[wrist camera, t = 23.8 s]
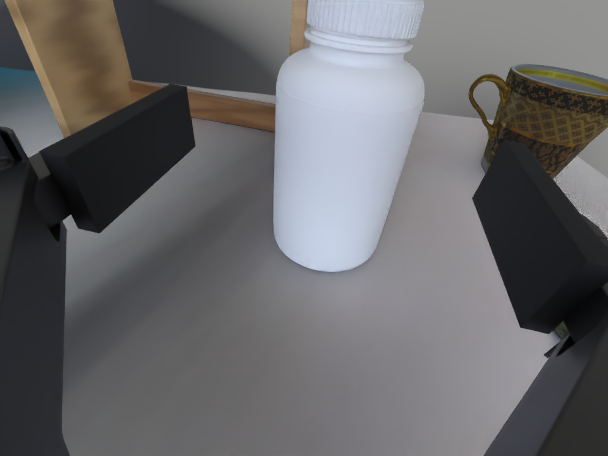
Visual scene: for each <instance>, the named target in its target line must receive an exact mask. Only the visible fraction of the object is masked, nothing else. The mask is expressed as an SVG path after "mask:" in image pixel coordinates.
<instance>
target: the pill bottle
mask: <svg viewBox="0 0 608 456" xmlns="http://www.w3.org/2000/svg"><path fill="white" fill-rule="evenodd" d="M423 3H424V1H423V0H308V8H307V23H308V24H309V25H310V27H311V28H308V29H306V30H305V33H304V36H305V38H306V39H307V40H309V41H310V45H309V48H306V49H303V50H300V51H298V52H296V53H294V54H292V55H291V56H290V57H289V58H288V59H287V60H286V61H285V62H284V63H283V65H282V67H281V69H280V72H279V75H278V78H277V84H276V116H275V161H274V205H273V229H274V236H275V240H276V242H277V244H278V246H279V248H280V249H281V250H282V252H283V253H284V254H285V255H286V256H287V257H289V258H290V259H291V260H293V261H294V262H296V263H298V264H300V265H302V266H304V267H307V268H310V269H313V270H318V271H325V272H339V271H345V270H350V269H353V268H355V267H357V266H359V265H361V264H363V263H364V262H365V261H367V260H368V259H369V258H370V257H371V255H372V254H373V252H374V251H375V249H376V246H377V245H378V242H379V239H380V236H381V233H382V230H383V227H384V224H385V221H386V218H387V215H388V212H389V208H390V205H391V202H392V199H393V196H394V193H395V190H396V187H397V184H398V181H399V178H400V175H401V172H402V169H403V165H404V162H405V159H406V156H407V153H408V150H409V147H410V144H411V141H412V138H413V135H414V132H415V129H416V126H417V122H418V119H419V116H420V113H421V110H422V107H423V103H424V93H425V91H424V90H425V89H424V82H423V79H422V77H421V75H420V74H419V72H418V71H417V70H416V69H415V68H414V67H413V66H412V65H411V64H409V63H408V62H406V61H405V60H403V56H404V53H406V52H408V51H410V50H411V49H412V46H413V44H412V42H411V41H409V40H408V39H410V38H414V37H416V34H417V31H418V27H419V24H420V20H421V17H422V13H423V9H424V5H423Z"/></svg>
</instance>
